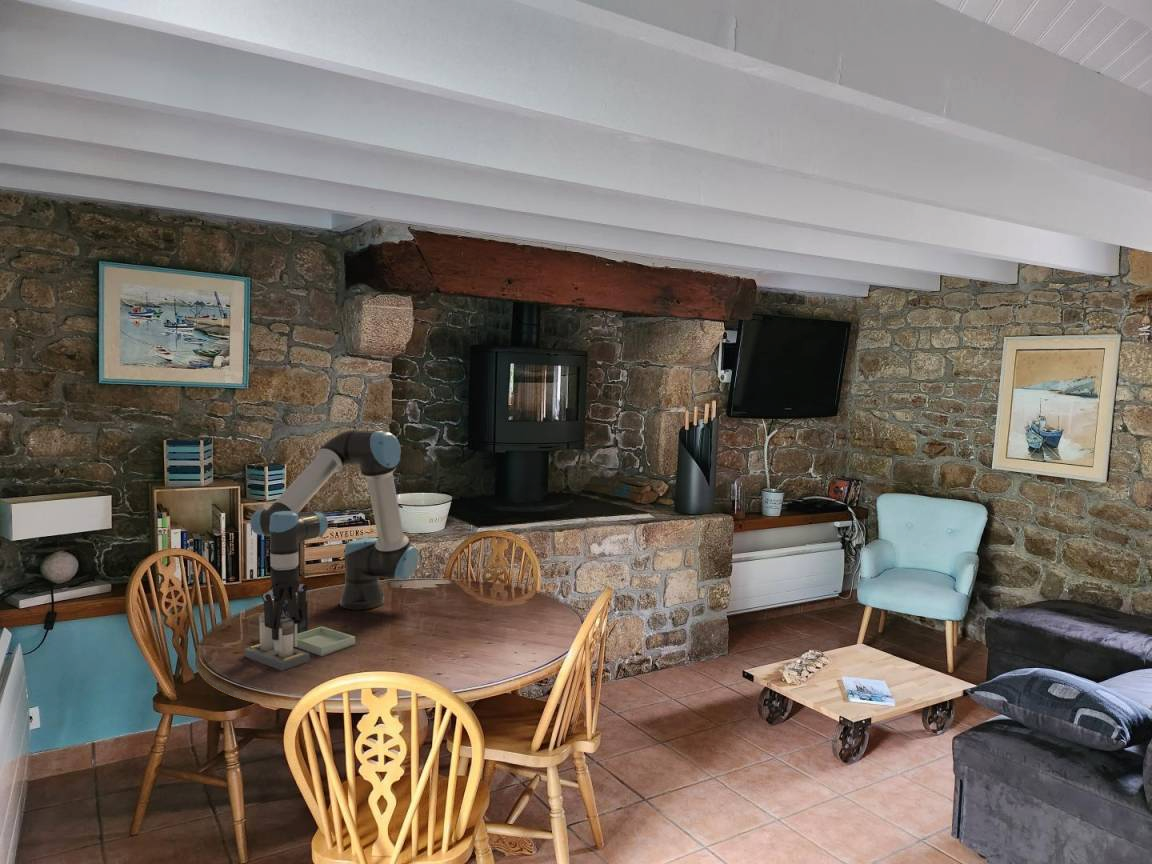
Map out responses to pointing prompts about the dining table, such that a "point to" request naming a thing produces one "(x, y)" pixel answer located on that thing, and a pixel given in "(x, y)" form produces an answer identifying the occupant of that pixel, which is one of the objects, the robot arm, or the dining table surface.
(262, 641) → the fuse
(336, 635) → the parts tray
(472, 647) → the dining table surface
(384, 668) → the dining table surface
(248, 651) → the fuse holder
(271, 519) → the robot arm
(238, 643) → the dining table surface
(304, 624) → the box
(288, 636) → the cylinder
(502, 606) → the dining table surface
